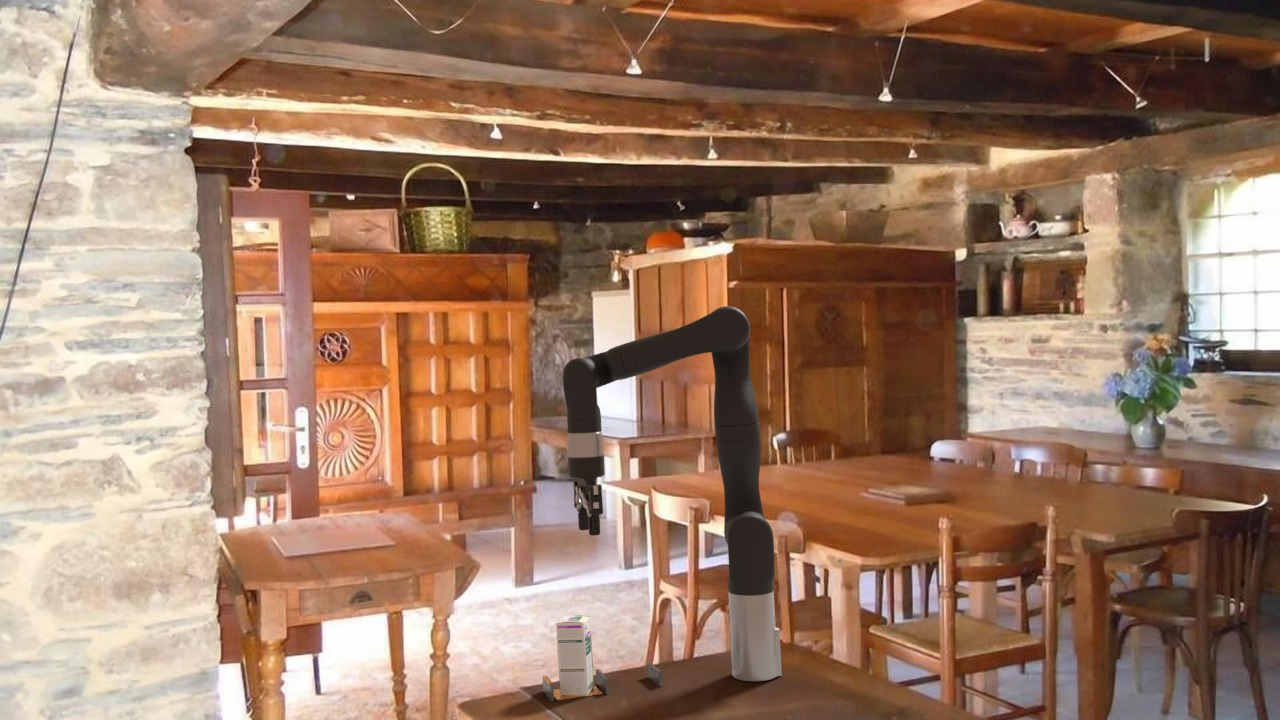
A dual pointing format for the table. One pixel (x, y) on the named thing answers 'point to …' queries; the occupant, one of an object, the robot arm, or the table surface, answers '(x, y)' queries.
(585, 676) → the syrup box
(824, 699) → the table surface
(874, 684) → the table surface
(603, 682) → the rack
